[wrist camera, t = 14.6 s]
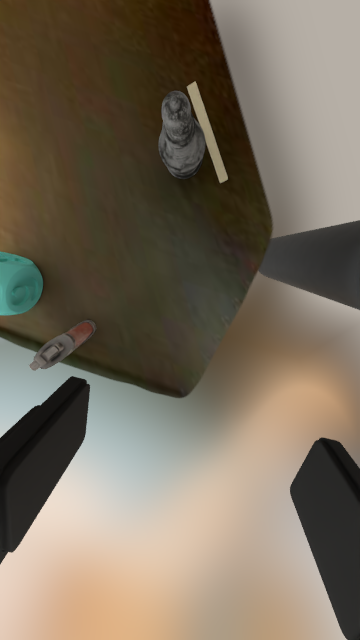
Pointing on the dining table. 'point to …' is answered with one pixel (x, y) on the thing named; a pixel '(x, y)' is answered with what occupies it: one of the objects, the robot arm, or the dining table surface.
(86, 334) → the lighter
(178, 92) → the dark grey chess piece
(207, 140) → the beige long thin bar
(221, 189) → the dining table surface
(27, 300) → the decorative dice
